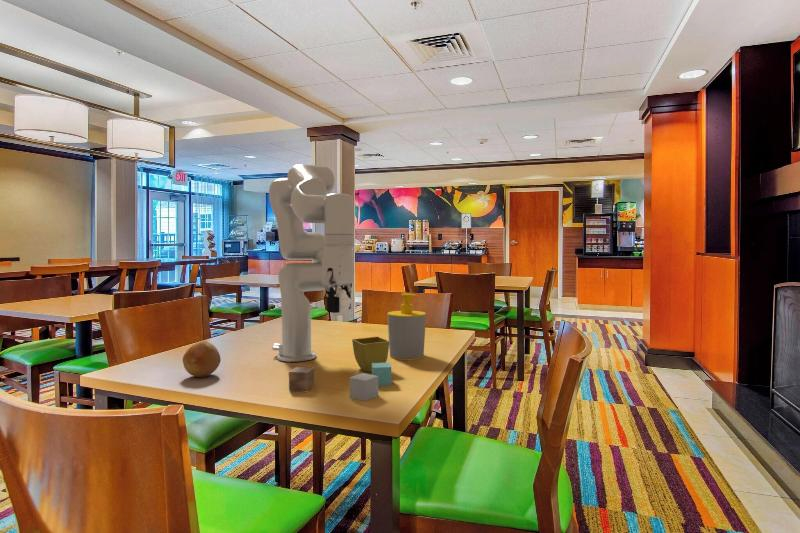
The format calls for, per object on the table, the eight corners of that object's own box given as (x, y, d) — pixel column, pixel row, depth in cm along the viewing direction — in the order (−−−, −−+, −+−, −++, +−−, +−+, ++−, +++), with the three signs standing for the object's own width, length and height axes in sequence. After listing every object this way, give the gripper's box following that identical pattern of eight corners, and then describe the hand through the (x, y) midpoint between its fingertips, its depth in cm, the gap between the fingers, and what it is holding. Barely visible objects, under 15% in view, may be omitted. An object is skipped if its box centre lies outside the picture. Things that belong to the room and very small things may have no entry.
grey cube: (349, 397, 114) (349, 377, 113) (362, 392, 118) (362, 372, 118) (365, 401, 111) (365, 380, 111) (378, 395, 115) (378, 376, 115)
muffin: (356, 314, 122) (356, 287, 122) (341, 317, 117) (341, 289, 117) (337, 312, 125) (337, 286, 125) (322, 315, 120) (322, 288, 120)
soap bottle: (426, 360, 150) (426, 295, 149) (386, 360, 150) (386, 295, 150) (425, 351, 163) (425, 292, 162) (388, 351, 164) (388, 291, 163)
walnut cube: (289, 391, 119) (288, 371, 119) (296, 385, 124) (296, 366, 124) (307, 392, 118) (307, 372, 118) (314, 386, 123) (314, 367, 123)
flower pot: (362, 374, 134) (362, 344, 133) (351, 368, 141) (351, 338, 141) (390, 371, 138) (390, 341, 137) (377, 364, 145) (377, 336, 145)
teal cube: (372, 386, 123) (372, 367, 123) (371, 381, 128) (371, 363, 128) (391, 385, 123) (391, 367, 123) (389, 380, 128) (389, 362, 128)
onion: (183, 373, 135) (182, 339, 134) (220, 370, 139) (219, 337, 138) (182, 382, 126) (181, 346, 125) (221, 378, 130) (220, 343, 129)
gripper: (340, 242, 130) (340, 306, 131) (309, 241, 113) (310, 314, 114) (365, 242, 127) (365, 307, 128) (337, 241, 111) (337, 316, 112)
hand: (339, 309), depth 121 cm, fingers closed on muffin, 6 cm apart
